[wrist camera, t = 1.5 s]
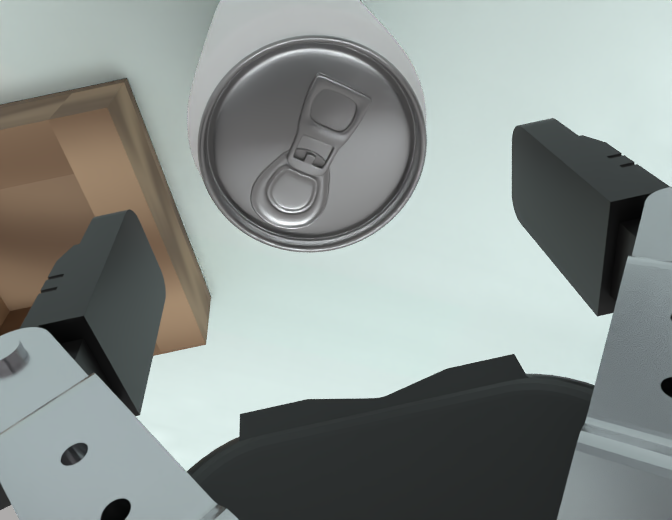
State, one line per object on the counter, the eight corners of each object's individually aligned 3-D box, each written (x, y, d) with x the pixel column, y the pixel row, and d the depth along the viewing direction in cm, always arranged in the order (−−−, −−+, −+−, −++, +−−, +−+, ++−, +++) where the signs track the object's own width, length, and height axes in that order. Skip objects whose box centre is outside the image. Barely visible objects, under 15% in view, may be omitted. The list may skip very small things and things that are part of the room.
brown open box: (-153, 136, 23) (-216, 175, 20) (126, 78, 23) (107, 107, 20) (-6, 343, 30) (-36, 395, 27) (210, 297, 30) (205, 344, 27)
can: (189, 82, 24) (143, 219, 14) (245, -76, 21) (237, -45, 11) (324, 140, 26) (367, 294, 16) (391, 4, 23) (495, 91, 13)
